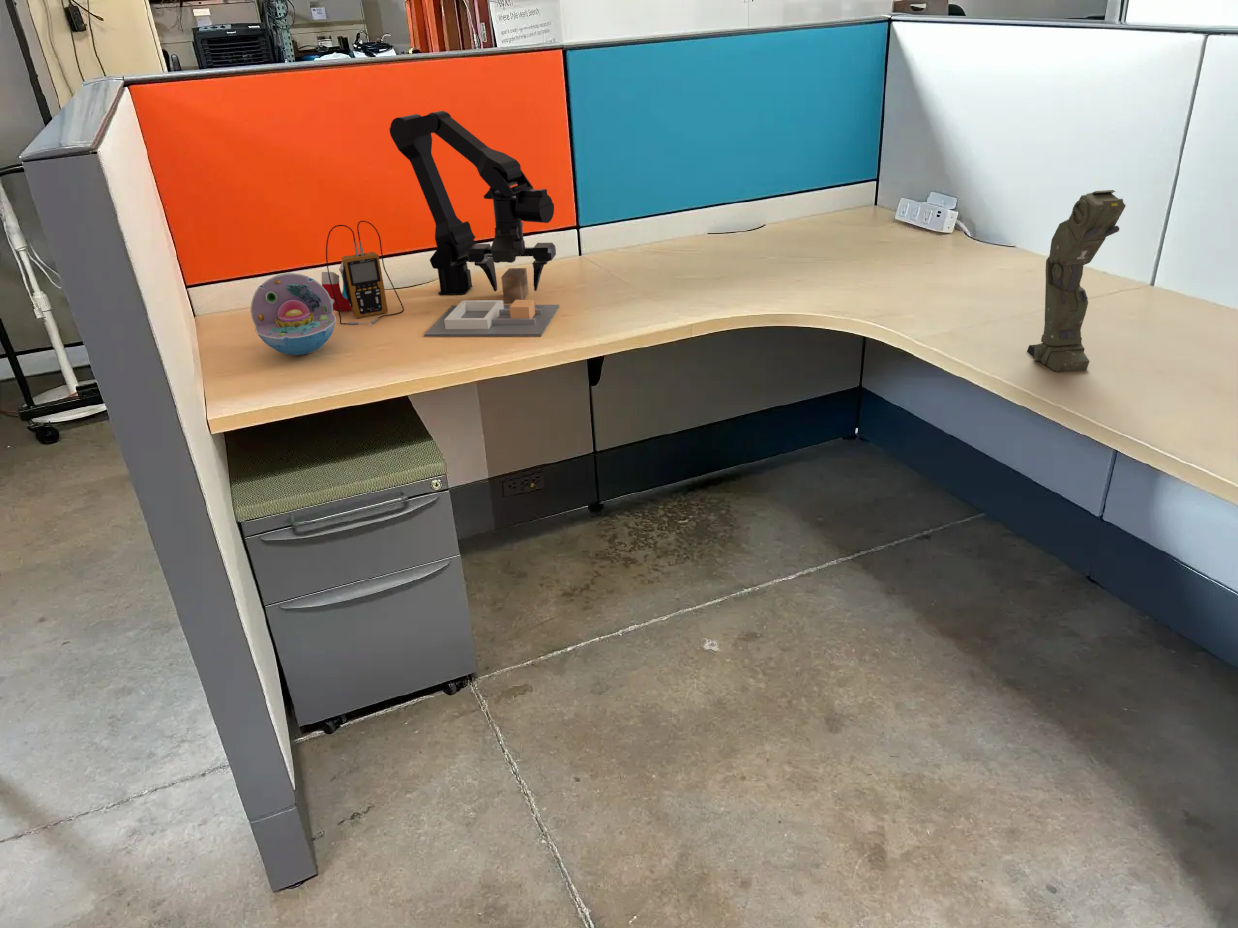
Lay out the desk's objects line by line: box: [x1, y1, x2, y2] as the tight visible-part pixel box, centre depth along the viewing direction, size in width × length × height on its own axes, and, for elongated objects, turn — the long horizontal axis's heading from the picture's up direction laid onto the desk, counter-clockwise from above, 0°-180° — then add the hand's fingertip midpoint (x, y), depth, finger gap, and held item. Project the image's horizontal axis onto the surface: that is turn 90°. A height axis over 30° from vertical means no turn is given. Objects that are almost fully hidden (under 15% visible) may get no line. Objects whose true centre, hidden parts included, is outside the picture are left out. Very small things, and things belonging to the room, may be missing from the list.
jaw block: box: [501, 267, 530, 304], centre depth 199 cm, size 4×7×6 cm, turn 173°
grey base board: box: [424, 299, 560, 338], centre depth 186 cm, size 24×19×2 cm
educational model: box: [250, 272, 337, 356], centre depth 172 cm, size 16×19×15 cm
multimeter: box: [325, 220, 405, 326], centre depth 187 cm, size 15×10×20 cm
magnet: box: [321, 261, 352, 313], centre depth 196 cm, size 12×3×10 cm, turn 169°
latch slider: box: [510, 299, 536, 318], centre depth 184 cm, size 4×5×3 cm
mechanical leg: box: [1026, 189, 1127, 373], centre depth 145 cm, size 14×7×30 cm, turn 5°
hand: (515, 290), depth 199 cm, fingers open, 9 cm apart
